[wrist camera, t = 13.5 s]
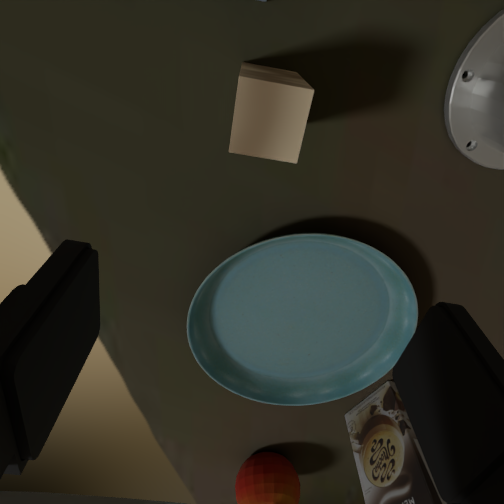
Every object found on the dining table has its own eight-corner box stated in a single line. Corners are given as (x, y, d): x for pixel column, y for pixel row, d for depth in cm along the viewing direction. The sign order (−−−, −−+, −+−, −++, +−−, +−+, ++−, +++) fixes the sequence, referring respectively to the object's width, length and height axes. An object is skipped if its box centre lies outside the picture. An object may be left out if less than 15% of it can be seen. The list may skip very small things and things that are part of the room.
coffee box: (387, 378, 46) (444, 525, 33) (423, 394, 48) (491, 541, 34) (341, 414, 50) (376, 559, 37) (376, 429, 52) (421, 571, 39)
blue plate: (409, 366, 46) (419, 388, 43) (225, 396, 49) (223, 418, 46) (404, 193, 33) (419, 208, 30) (158, 247, 36) (150, 266, 33)
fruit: (241, 477, 59) (240, 552, 51) (230, 445, 54) (227, 522, 46) (299, 472, 59) (308, 547, 50) (293, 439, 54) (302, 516, 45)
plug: (296, 72, 28) (314, 90, 20) (285, 128, 30) (296, 163, 22) (242, 61, 27) (239, 76, 20) (234, 119, 29) (228, 152, 22)
